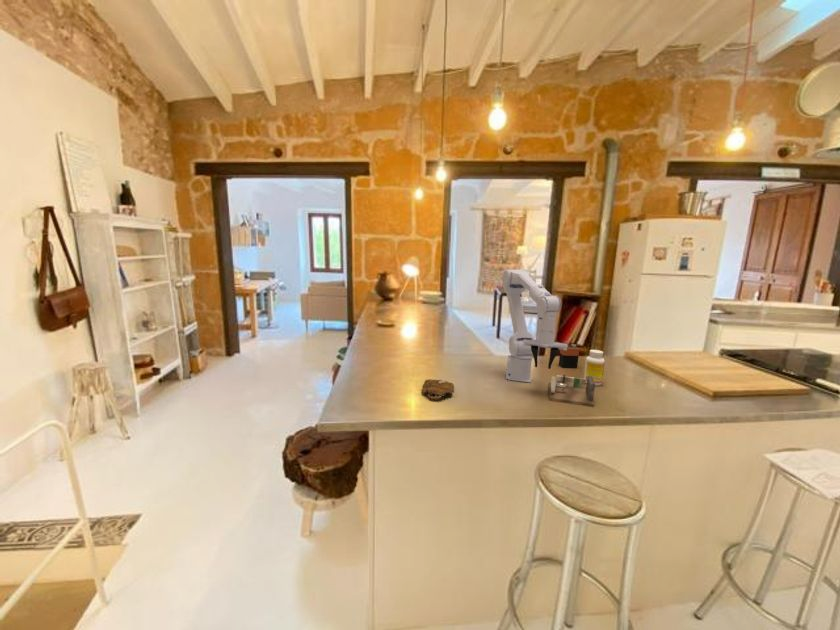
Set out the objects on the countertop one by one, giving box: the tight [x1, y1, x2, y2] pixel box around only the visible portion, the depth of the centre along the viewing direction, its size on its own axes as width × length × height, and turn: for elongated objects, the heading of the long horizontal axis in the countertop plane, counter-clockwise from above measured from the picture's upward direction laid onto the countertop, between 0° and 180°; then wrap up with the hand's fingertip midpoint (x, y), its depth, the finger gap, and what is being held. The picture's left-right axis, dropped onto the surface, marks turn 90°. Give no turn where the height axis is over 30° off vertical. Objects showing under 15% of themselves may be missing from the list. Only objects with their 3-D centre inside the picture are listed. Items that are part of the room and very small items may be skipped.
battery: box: [558, 343, 580, 369], centre depth 166 cm, size 4×7×10 cm, turn 93°
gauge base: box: [548, 375, 596, 407], centre depth 134 cm, size 14×15×7 cm
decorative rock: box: [421, 379, 455, 401], centre depth 132 cm, size 11×4×15 cm
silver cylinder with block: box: [550, 374, 568, 393], centre depth 136 cm, size 6×10×4 cm, turn 162°
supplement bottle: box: [583, 349, 606, 386], centre depth 146 cm, size 7×7×13 cm
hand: (542, 367), depth 135 cm, fingers open, 4 cm apart
